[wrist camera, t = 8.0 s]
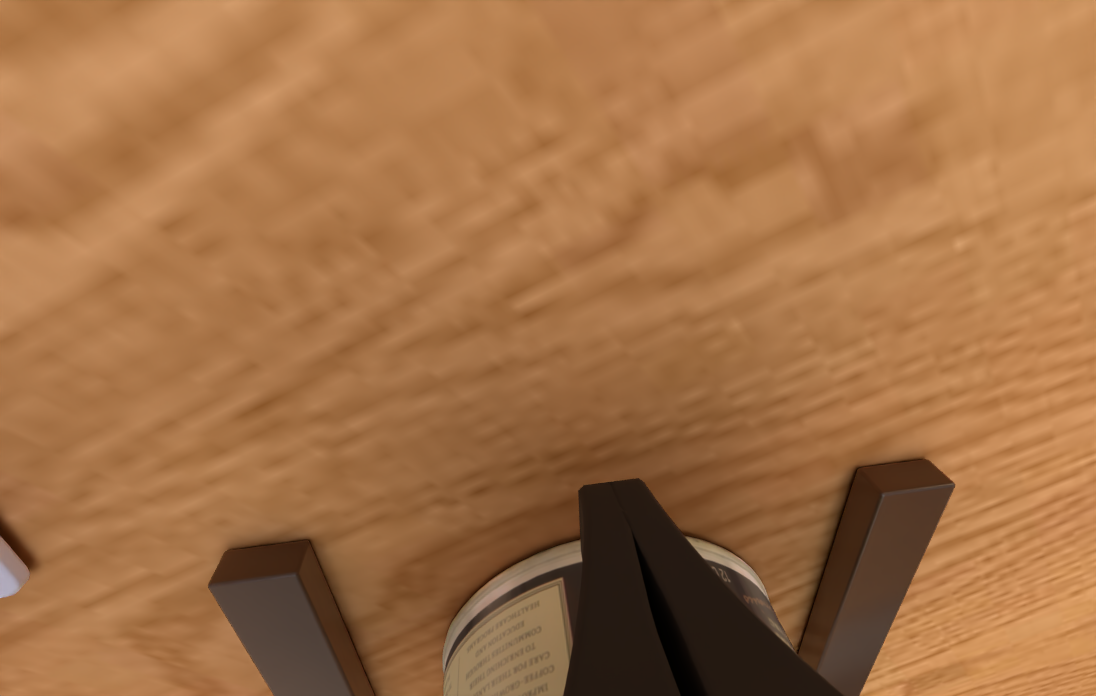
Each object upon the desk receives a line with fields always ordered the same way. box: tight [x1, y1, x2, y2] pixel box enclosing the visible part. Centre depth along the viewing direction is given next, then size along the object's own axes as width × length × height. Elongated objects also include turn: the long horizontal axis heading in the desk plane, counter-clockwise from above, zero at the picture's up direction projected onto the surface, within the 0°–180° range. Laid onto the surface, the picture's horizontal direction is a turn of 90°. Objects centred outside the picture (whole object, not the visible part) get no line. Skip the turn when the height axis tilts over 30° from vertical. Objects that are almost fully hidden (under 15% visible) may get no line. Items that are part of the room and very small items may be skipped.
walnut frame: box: [208, 459, 955, 696], centre depth 17 cm, size 18×16×1 cm
